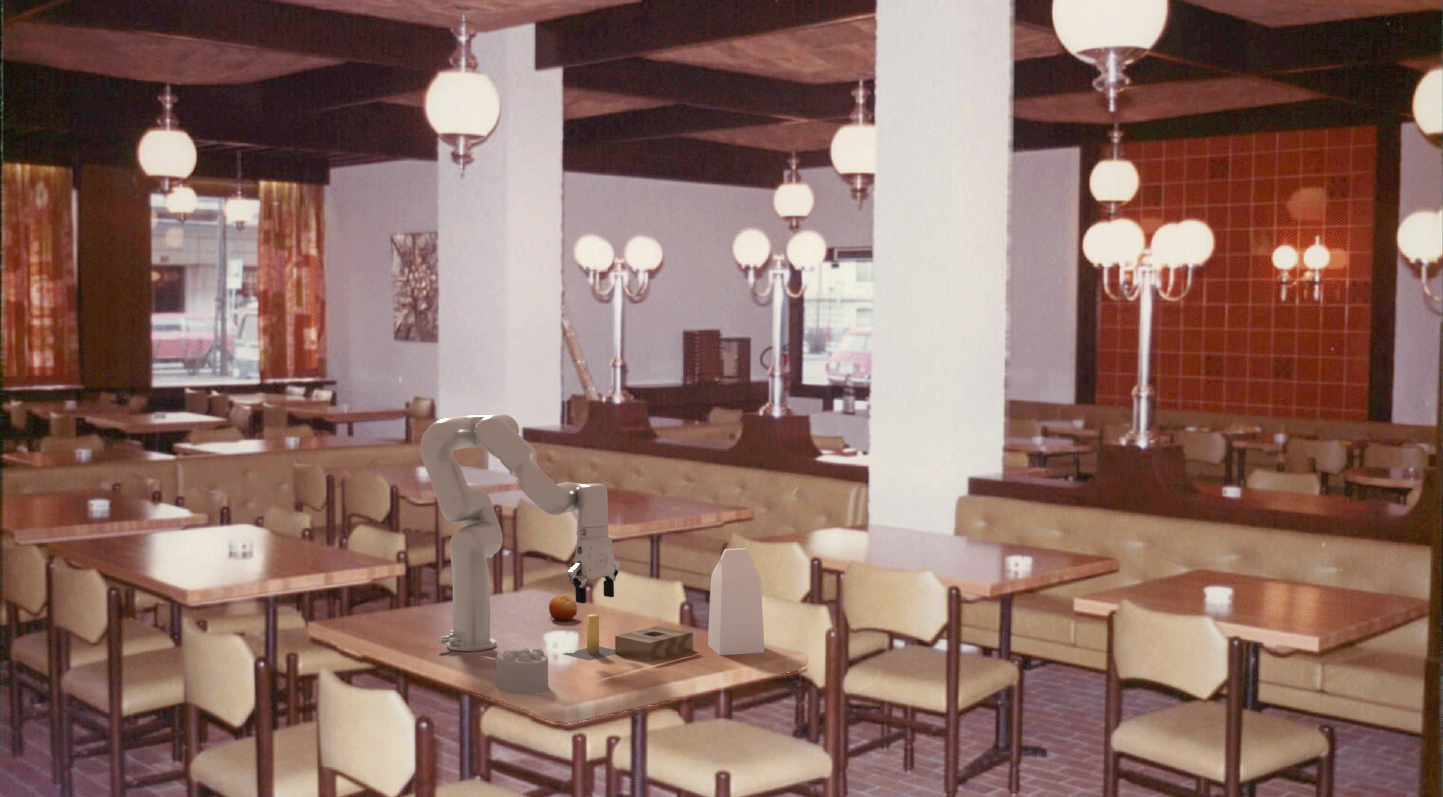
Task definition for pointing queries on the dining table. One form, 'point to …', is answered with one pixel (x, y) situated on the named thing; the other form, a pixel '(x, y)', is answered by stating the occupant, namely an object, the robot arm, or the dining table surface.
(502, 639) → the dining table surface
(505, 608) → the dining table surface
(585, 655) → the mat
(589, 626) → the peg
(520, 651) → the lumpy-topped squat cylinder
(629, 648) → the hole block
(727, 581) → the milk
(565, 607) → the fruit
